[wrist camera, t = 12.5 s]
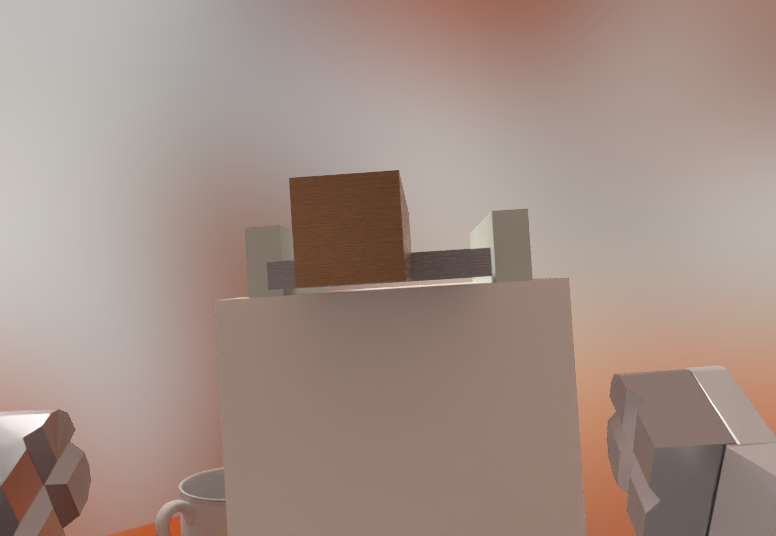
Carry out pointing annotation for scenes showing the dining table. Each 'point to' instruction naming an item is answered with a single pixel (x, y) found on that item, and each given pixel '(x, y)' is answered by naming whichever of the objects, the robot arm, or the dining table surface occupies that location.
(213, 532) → the teacup
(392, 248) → the brown block on plate
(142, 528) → the dining table surface
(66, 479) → the robot arm
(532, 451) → the tall box with rails
